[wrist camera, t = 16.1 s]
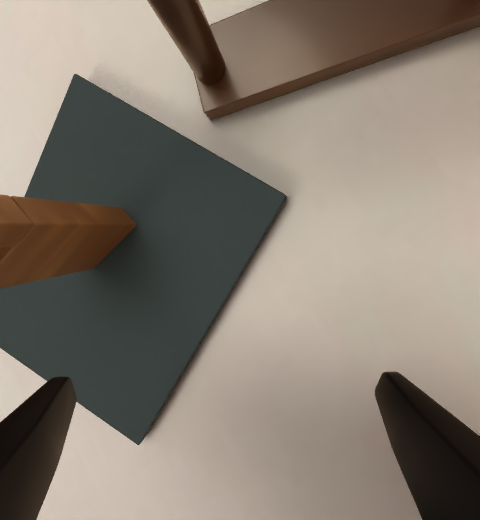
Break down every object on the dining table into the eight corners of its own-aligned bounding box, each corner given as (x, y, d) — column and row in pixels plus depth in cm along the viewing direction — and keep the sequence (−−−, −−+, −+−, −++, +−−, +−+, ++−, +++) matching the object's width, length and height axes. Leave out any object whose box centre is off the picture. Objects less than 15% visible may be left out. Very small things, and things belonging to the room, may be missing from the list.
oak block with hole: (137, 224, 17) (-41, 224, 8) (94, 269, 18) (-114, 314, 9) (122, 206, 17) (-73, 185, 8) (79, 251, 18) (-142, 278, 9)
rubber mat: (146, 435, 20) (138, 446, 19) (-15, 323, 21) (-30, 327, 20) (287, 197, 17) (287, 195, 16) (85, 80, 18) (73, 72, 17)
